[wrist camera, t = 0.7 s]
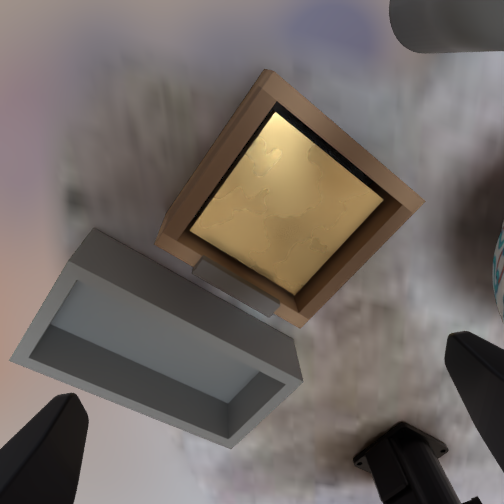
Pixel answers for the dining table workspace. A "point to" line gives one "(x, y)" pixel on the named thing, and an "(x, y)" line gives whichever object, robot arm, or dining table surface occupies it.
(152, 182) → the dining table surface
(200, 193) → the frame
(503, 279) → the chinaware
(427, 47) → the battery cell
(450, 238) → the dining table surface
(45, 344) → the trough
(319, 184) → the plate
